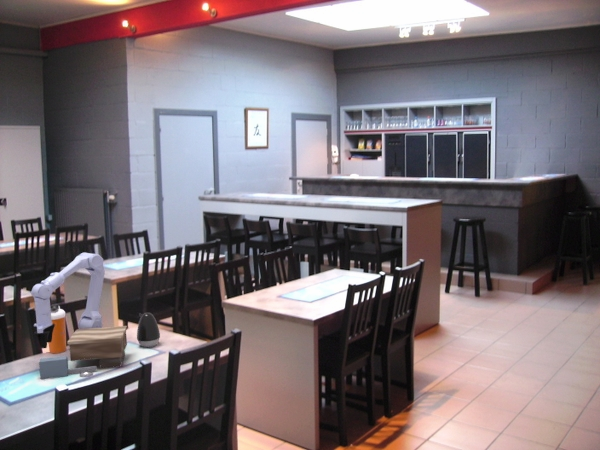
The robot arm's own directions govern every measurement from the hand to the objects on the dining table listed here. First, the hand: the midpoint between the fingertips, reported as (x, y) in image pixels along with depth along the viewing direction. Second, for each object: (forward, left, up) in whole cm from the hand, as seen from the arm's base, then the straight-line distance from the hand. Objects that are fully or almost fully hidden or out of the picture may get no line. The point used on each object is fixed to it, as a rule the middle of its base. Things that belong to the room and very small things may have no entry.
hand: (46, 345), depth 257 cm
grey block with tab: (+11, +11, -9) cm, 18 cm away
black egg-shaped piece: (-19, +39, -10) cm, 44 cm away
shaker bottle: (-21, -1, -10) cm, 23 cm away
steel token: (+13, +18, -10) cm, 24 cm away
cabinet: (0, +21, -9) cm, 23 cm away
